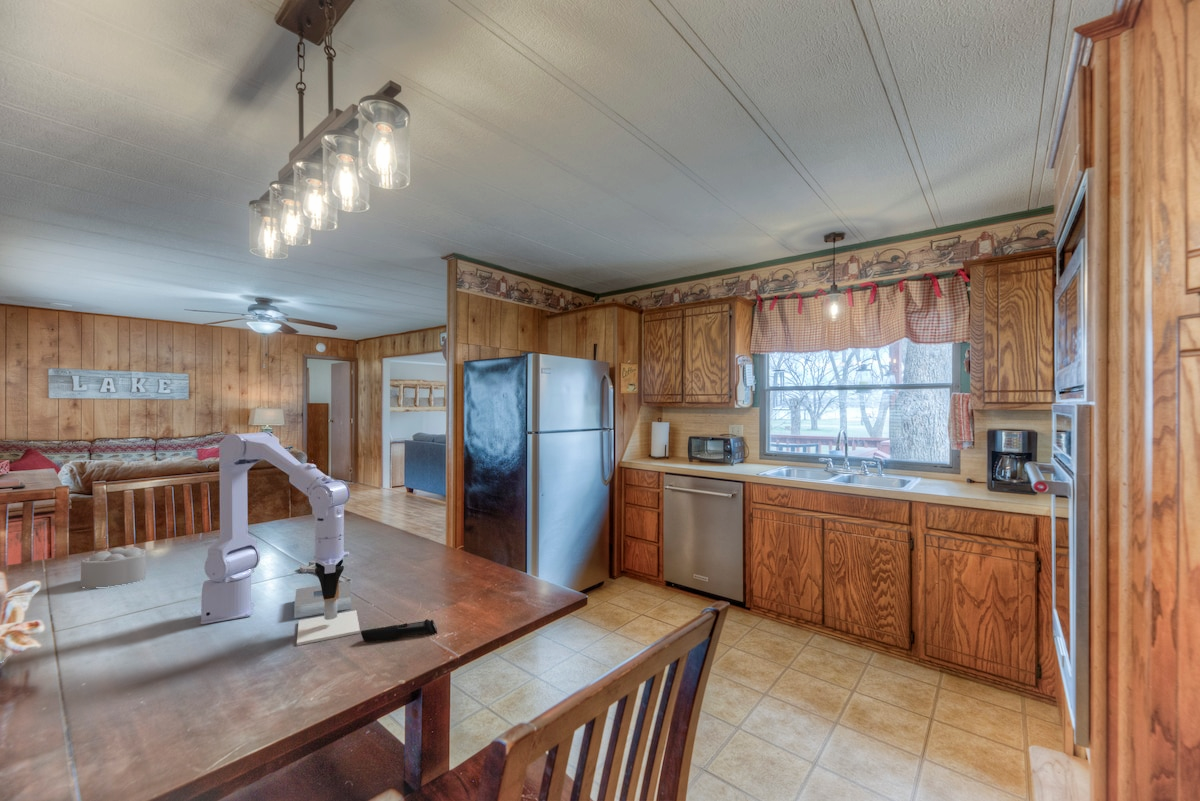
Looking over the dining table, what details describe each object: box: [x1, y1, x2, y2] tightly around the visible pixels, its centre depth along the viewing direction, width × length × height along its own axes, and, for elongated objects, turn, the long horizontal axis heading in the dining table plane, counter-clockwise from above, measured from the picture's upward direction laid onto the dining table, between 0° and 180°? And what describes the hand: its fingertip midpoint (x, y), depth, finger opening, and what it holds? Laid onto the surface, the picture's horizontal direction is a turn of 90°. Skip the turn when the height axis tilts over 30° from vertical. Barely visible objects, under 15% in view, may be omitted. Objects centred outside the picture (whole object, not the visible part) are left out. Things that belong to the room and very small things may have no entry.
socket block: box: [293, 581, 352, 620], centre depth 126 cm, size 12×12×3 cm
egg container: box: [80, 546, 147, 588], centre depth 140 cm, size 10×13×9 cm
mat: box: [296, 609, 361, 647], centre depth 113 cm, size 12×12×1 cm
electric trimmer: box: [360, 618, 438, 643], centre depth 109 cm, size 4×16×3 cm, turn 111°
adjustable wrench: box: [299, 560, 353, 585], centre depth 146 cm, size 25×6×2 cm, turn 50°
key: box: [323, 581, 339, 620], centre depth 113 cm, size 3×3×8 cm
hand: (329, 595), depth 113 cm, fingers closed on key, 3 cm apart
